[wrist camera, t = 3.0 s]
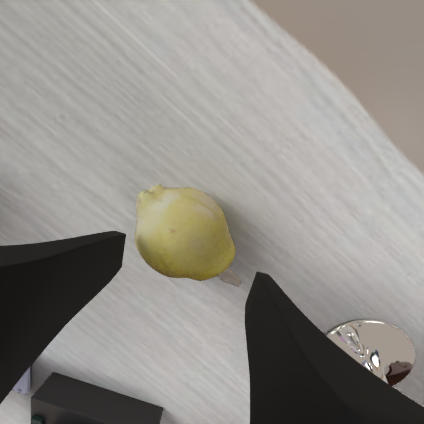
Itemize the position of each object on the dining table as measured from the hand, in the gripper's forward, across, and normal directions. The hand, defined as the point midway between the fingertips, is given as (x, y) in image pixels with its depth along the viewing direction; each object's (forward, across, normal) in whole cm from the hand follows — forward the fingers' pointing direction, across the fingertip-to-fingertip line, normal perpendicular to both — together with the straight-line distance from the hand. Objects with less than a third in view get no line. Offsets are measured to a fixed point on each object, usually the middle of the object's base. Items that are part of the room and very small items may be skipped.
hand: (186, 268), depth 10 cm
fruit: (+6, 0, 0) cm, 6 cm away
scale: (+6, +6, +27) cm, 28 cm away
